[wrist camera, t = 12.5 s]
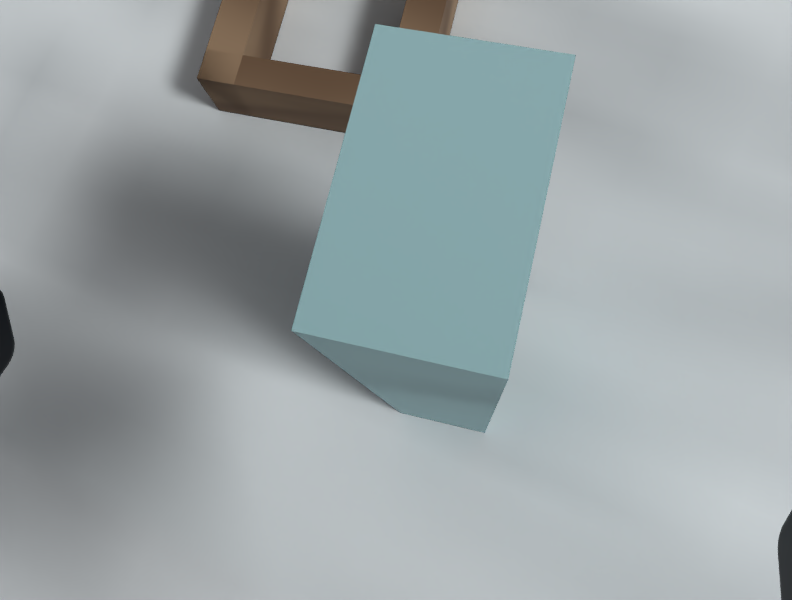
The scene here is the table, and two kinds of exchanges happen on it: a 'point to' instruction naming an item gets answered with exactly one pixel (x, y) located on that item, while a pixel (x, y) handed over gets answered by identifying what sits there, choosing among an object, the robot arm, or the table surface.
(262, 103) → the walnut rack
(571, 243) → the table surface
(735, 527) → the table surface
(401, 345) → the teal board
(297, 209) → the table surface
